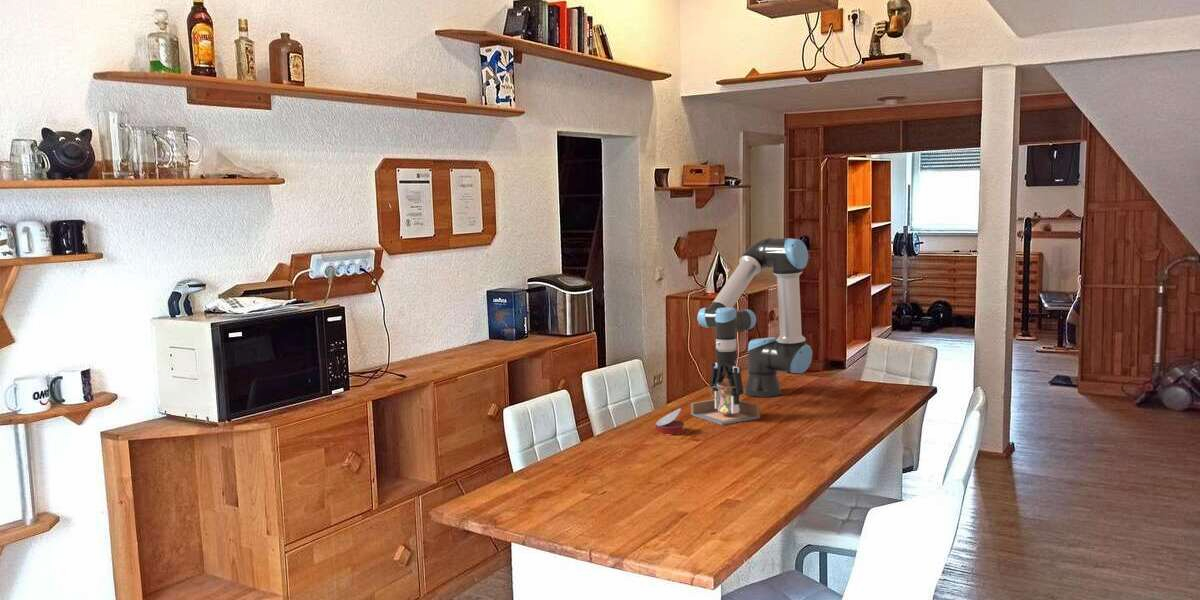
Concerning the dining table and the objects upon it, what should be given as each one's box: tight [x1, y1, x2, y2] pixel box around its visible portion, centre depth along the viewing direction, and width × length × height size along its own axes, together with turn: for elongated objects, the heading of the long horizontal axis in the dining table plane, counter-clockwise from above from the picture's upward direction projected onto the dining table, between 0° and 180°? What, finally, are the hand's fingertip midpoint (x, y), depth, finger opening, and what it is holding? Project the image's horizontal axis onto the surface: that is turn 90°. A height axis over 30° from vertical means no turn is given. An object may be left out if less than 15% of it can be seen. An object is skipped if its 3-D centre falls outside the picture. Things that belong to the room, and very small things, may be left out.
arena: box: [690, 398, 761, 426], centre depth 339 cm, size 18×18×5 cm
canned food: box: [655, 408, 685, 435], centre depth 319 cm, size 11×10×10 cm
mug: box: [709, 380, 741, 414], centre depth 336 cm, size 12×9×11 cm
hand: (726, 410), depth 337 cm, fingers closed on mug, 9 cm apart
